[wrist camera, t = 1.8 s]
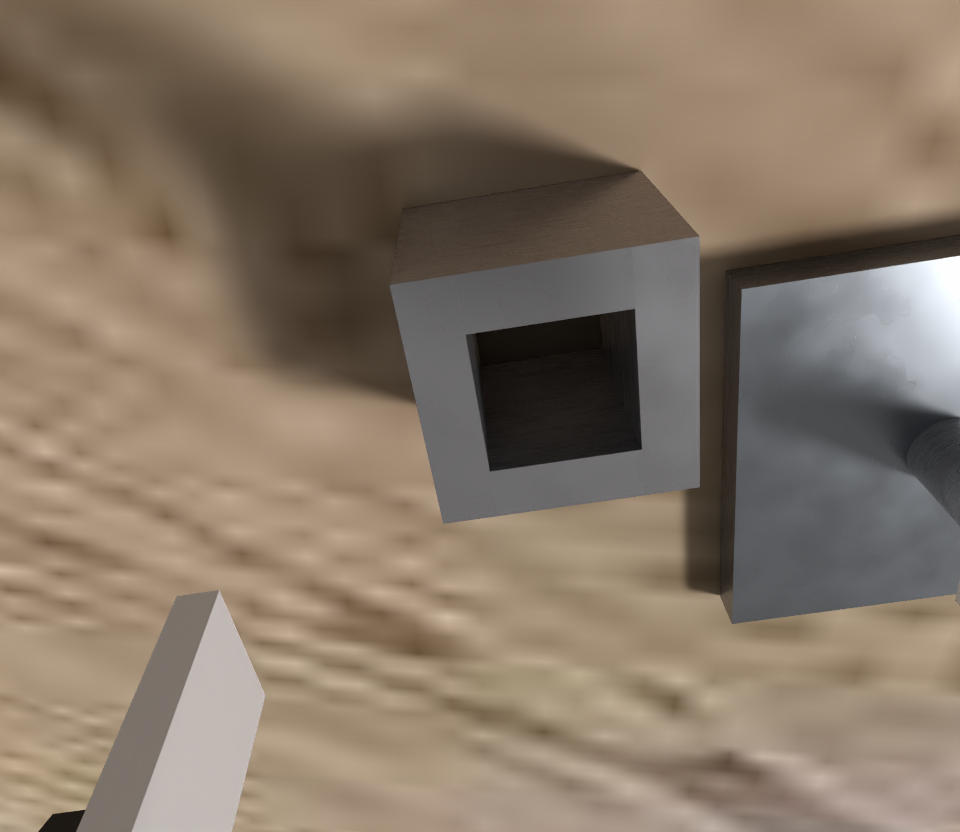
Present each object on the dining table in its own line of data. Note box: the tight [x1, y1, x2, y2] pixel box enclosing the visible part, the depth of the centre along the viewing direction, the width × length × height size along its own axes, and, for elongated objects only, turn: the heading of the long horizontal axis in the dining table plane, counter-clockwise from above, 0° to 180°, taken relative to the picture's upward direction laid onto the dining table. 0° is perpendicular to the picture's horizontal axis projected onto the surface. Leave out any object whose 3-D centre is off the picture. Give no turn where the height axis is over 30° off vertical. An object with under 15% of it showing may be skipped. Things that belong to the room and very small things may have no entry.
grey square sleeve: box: [389, 171, 700, 524], centre depth 21 cm, size 7×7×6 cm
